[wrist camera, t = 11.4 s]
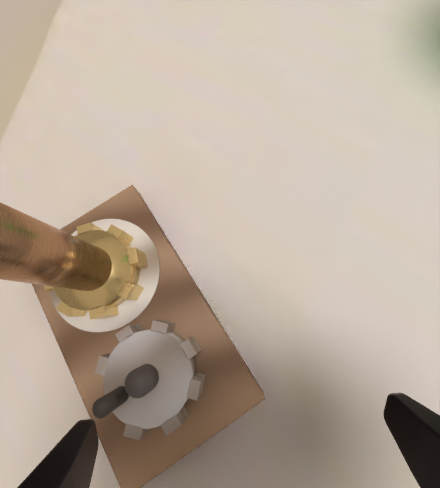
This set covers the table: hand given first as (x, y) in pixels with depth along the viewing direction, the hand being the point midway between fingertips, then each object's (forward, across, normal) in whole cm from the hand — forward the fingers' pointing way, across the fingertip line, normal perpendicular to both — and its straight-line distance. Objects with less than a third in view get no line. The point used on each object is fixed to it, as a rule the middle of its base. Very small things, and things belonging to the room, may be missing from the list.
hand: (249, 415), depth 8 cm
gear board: (+13, +6, +5) cm, 16 cm away
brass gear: (+14, +9, +1) cm, 17 cm away
